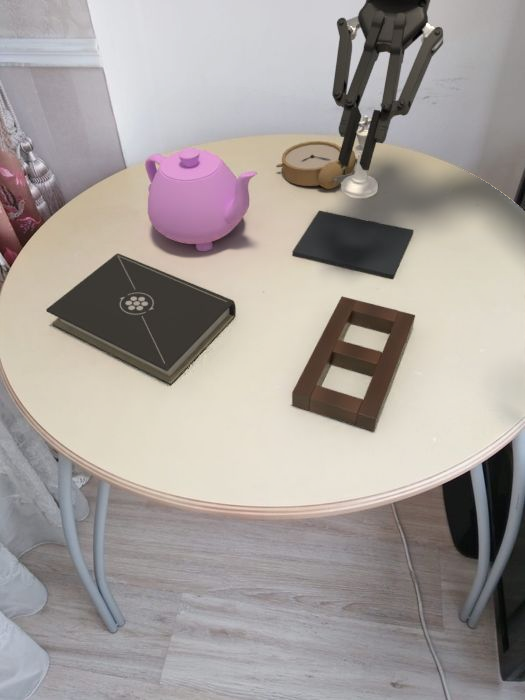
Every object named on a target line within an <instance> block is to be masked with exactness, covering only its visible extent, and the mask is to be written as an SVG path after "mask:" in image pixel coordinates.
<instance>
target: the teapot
mask: <svg viewBox="0 0 525 700" xmlns="http://www.w3.org/2000/svg"><path fill="white" fill-rule="evenodd" d="M156 164H157V165H158V168H157V165H156ZM144 165H145V171H146V173H147V174H146V175H147V177H148V179H149V182H150V184H149V186H148V188H147V189H148V197H147V215H148V218H149V221H150V224H151V225H152V227H154V229H155V230H156V231H157V232H159V233H160V234H161V235H163V236H164V238H166V239H169V240H172V241H175V242H178V243H182V244H189V245H195V249H196V250H197V251H199V252H207V251H211V249H212V248H213V247H214V245H213V242H215V241H218V240H220V239H221V238H223V237H225V236H227V235H228V234H229V233H231V232H232V231H233V230H234V229H235V228H236V227H237V226H238V224H239V223H240V222H241V221H242V219H243V217H244V216H245V215H246V214H247V213H248V210H249V208H250V200H251V199H250V192H249V183H250V181H251V179H252V178H254V177H255V176H256V175H258V171H254V170H253V171H246V172H243V173H241V174H239V176H238V177H237V176H236V175H235V174H234V172H233V171H232V170H231V168H230V167H229V166H228V165H227V164H226V162H225V161H224V160H223V159H221V157H220V156H219V155H217V154H216V153H214V152H211V151H209V150H205V149H197V148H194V147H187V148H183V149H181V150H179V151H177V152H174V153H172V154H170V155H169V156H167V157H166V156H165V155H163V154H160V153H153V154H151V155H149V156H148V157H147V158H146V159H145V164H144Z"/></svg>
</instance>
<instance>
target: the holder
mask: <svg viewBox="0 0 525 700" xmlns="http://www.w3.org/2000/svg"><path fill="white" fill-rule="evenodd" d="M415 319H416V314H412V313H410V312H405V311H401V310H398V309H393V308H390V307H386V306H382V305H377V304H374V303H370V302H366V301H362V300H358V299H354V298H351V297H346V296H342V295H341V297H340V299H339V300H338V302H337V304H336V307H335V308H334V311H333V312H332V314H331V316H330V317H329V320H328V322H327V324H326V326H325V328H324V329H323V332H322V333H321V335H320V338H319V340H318V342H317V343H316V346H315V347H314V349H313V352H312V353H311V354H310V357H309V359H308V361H307V363H306V365H305V367H304V369H303V371H302V373H301V374H300V376H299V378H298V381H297V382H296V385H295V386H294V388H293V390H292V392H291V401H292V402H291V405H292V406H293V407H296V408H299V409H303V410H306V411H309V412H311V413H315V414H317V415H321V416H325V417H327V418H330V419H333V420H337V421H339V422H343V423H346V424H348V425H352V426H356V427H358V428H361V429H364V430H368V431H371V432H373V433H374V432H375V431H376V428H377V426H378V423H379V420H380V417H381V414H382V412H383V409H384V406H385V404H386V401H387V398H388V396H389V393H390V390H391V388H392V385H393V383H394V379H395V377H396V374H397V371H398V368H399V366H400V363H401V360H402V358H403V355H404V352H405V350H406V347H407V344H408V341H409V340H410V336H411V334H412V331H413V329H414V323H415ZM351 325H355V326H359V327H362V328H366V329H370V330H374V331H377V332H381V333H386V334H388V337H387V340H386V342H385V345H384V347H383V350H382V351H380V350H377V349H373V348H370V347H365V346H363V345H358V344H355V343H352V342H347V341H344V338H345V336H346V334H347V332H348V331H349V328H350V326H351ZM332 365H333V366H336V367H340V368H343V369H347V370H350V371H353V372H357V373H360V374H364V375H366V376H370V377H371V379H370V382H369V384H368V387H367V389H366V392H365V394H364V396H363V398H360V397H356V396H353V395H351V394H347V393H343V392H340V391H338V390H334V389H331V388H327V387H324V386H322V385H323V383H324V381H325V379H326V376H327V374H328V373H329V370H330V368H331V367H332Z"/></svg>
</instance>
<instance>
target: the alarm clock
mask: <svg viewBox="0 0 525 700" xmlns="http://www.w3.org/2000/svg"><path fill="white" fill-rule="evenodd" d="M341 147H342V146H339V145H338V144H336V143H334V142H330V141H322V140H312V141H305V142H300V143H298V144H295V145H292V146H290V147H289V148H287V149H286V150H285V151H284V152H283V153H282V155H281V163H278V164H276V165H275V166H276V168H282V175H283V177H284V179H285V180H286V181H288V182H289V183H292V184H293V185H297V186H298V185H299V186H305V187H312V186H313V187H314V186H316V187H317V186H320V187H322V188H323V189H327V190H332V189H335V188H336V187H338V185H340V183H342V182H343V180H344V179H345V178H346V177H348V176H351V175H354V174H355V169H356V165H357V161H358V157H356V152H355V151H354V149H352V153H351V157H350V161H349V164H348V167H345V166H342V165H341V163H340V162H339V160H338V158H339V154H340V151H341Z"/></svg>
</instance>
